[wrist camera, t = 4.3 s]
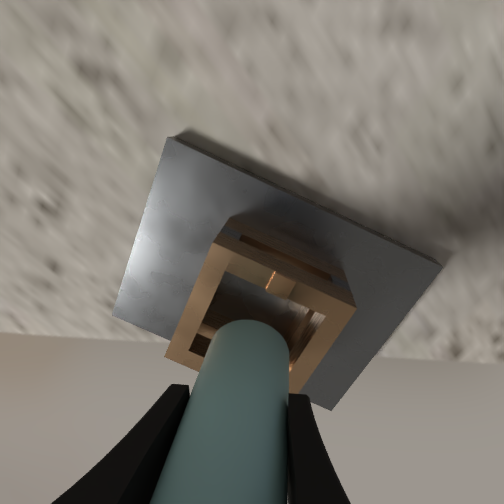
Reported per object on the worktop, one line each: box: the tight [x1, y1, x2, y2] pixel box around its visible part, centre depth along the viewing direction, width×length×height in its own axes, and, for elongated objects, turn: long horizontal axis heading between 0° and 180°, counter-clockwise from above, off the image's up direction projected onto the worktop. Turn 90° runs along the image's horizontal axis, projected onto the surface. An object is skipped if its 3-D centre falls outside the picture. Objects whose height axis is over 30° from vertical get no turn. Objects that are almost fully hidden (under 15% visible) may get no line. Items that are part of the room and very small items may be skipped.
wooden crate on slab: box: [112, 136, 443, 411], centre depth 18 cm, size 16×12×5 cm
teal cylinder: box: [150, 320, 289, 504], centre depth 10 cm, size 4×4×8 cm
